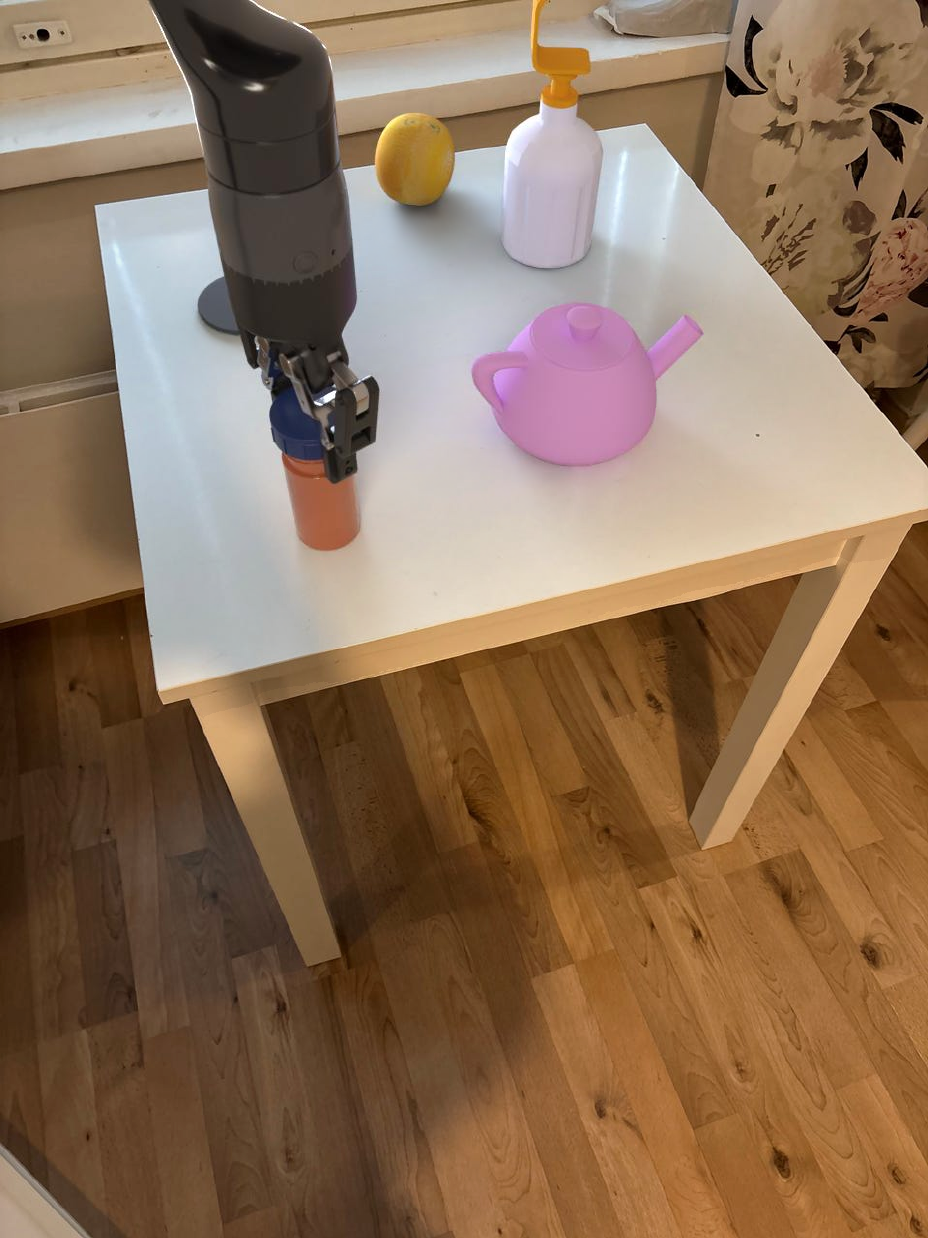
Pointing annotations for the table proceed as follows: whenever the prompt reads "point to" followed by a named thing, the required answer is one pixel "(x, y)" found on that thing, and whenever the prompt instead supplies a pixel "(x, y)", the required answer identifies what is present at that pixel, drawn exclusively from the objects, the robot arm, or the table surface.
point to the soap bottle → (552, 167)
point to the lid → (296, 426)
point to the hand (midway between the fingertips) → (316, 449)
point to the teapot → (578, 383)
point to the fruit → (414, 159)
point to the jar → (321, 505)
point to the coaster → (217, 308)
